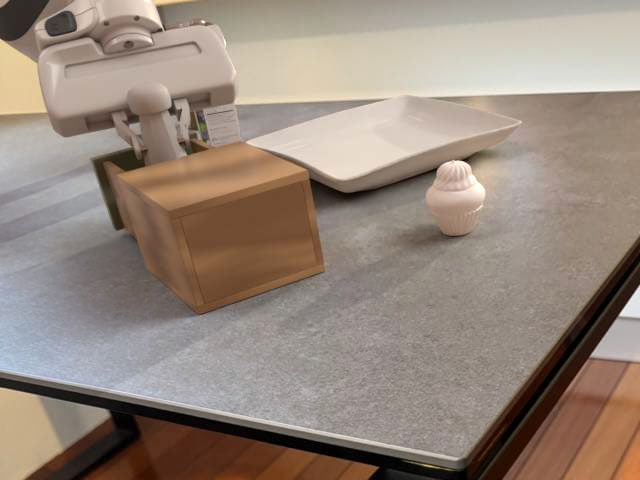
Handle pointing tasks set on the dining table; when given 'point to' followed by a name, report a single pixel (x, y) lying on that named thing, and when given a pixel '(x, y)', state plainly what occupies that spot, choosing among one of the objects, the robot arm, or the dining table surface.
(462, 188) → the muffin
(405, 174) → the square plate
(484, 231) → the dining table surface
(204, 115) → the syrup box
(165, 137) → the salt shaker
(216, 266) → the cabinet
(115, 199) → the drawer
